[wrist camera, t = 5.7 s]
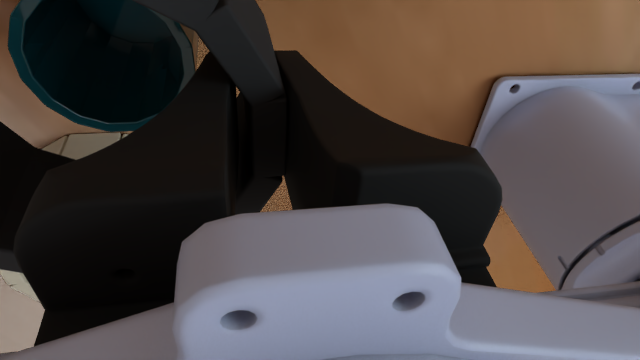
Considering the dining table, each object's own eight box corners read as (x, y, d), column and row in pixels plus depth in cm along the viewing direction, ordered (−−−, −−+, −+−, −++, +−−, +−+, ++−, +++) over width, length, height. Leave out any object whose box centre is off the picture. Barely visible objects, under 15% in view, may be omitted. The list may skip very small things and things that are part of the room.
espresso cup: (192, -83, 16) (183, -25, 11) (205, 44, 19) (202, 129, 15) (46, -89, 15) (-25, -28, 11) (84, 45, 18) (42, 135, 14)
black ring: (265, -119, 10) (292, -72, 7) (268, 171, 16) (284, 260, 13) (-197, -140, 9) (-392, -90, 6) (-7, 193, 15) (-57, 300, 12)
